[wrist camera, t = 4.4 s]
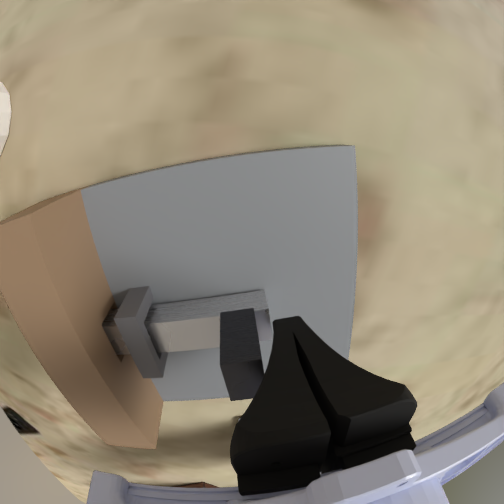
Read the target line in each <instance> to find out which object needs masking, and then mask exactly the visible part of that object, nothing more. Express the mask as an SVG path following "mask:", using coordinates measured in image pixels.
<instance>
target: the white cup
mask: <svg viewBox="0 0 504 504" xmlns="http://www.w3.org/2000/svg"><path fill="white" fill-rule="evenodd" d="M11 113H12V112H11V103H10V94H9V92H8V91H7V89H6V88H5V86H4V84H3V83H2V82H0V156H1V154H2V151H3V148H4V145H5V143H6V140H7V137H8V134H9V127H10V120H11Z"/></svg>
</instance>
